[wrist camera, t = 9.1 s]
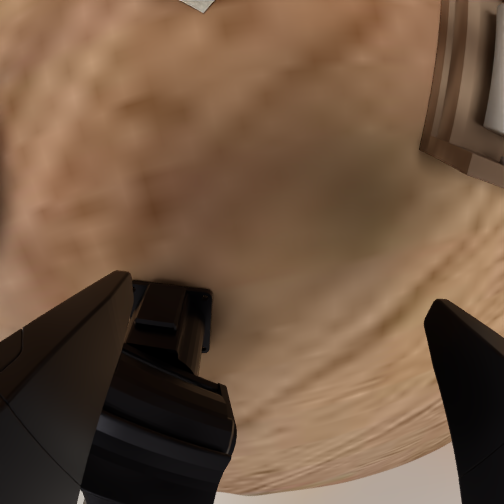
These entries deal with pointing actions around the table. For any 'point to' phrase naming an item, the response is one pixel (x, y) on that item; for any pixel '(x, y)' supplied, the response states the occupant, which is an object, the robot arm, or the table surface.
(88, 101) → the table surface
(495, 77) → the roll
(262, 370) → the table surface
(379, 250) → the table surface
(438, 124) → the cradle
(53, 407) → the robot arm
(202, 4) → the condiment
